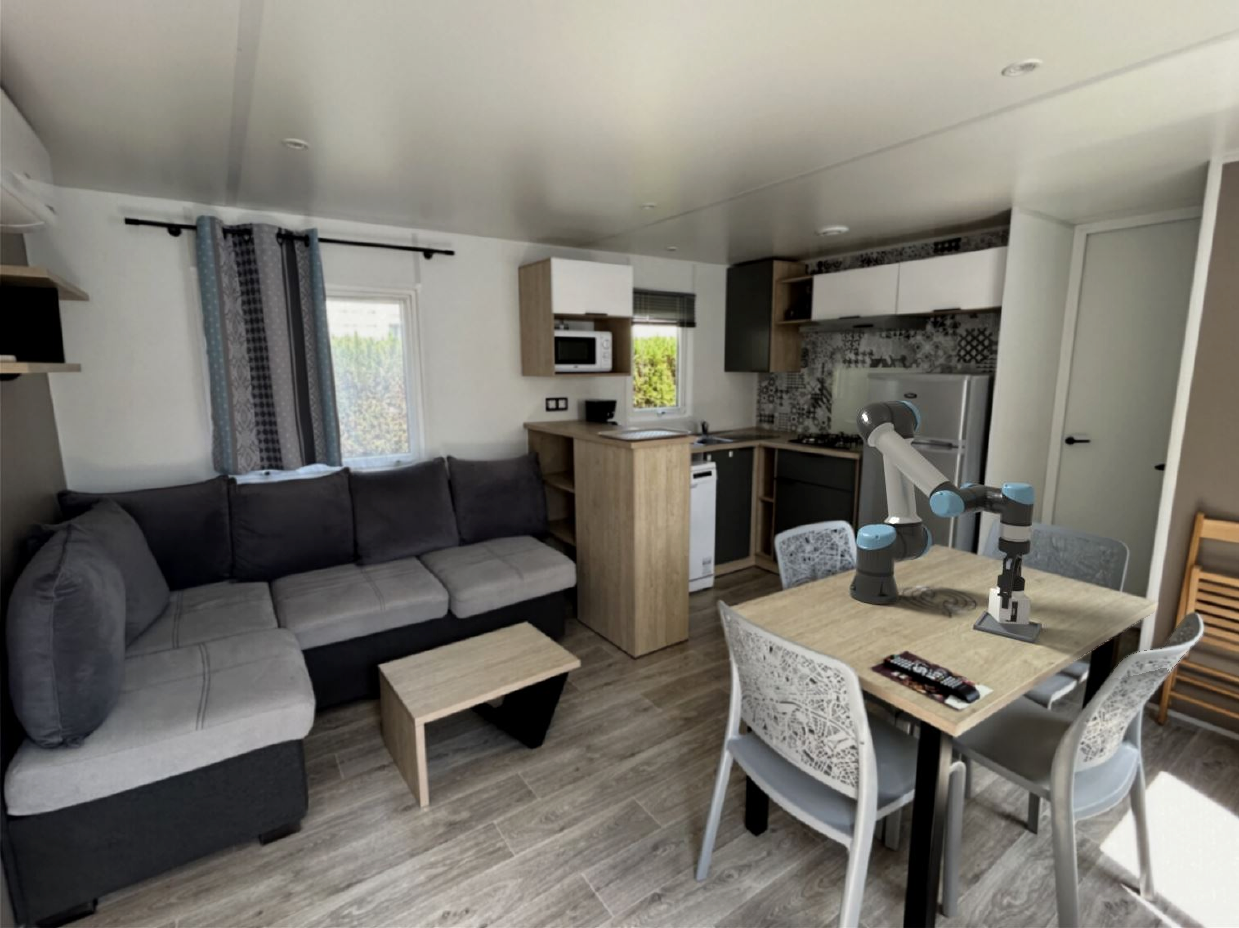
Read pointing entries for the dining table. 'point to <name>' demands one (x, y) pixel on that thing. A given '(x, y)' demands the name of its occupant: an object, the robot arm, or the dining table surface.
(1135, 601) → the dining table surface
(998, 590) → the container
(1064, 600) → the dining table surface
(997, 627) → the tray
